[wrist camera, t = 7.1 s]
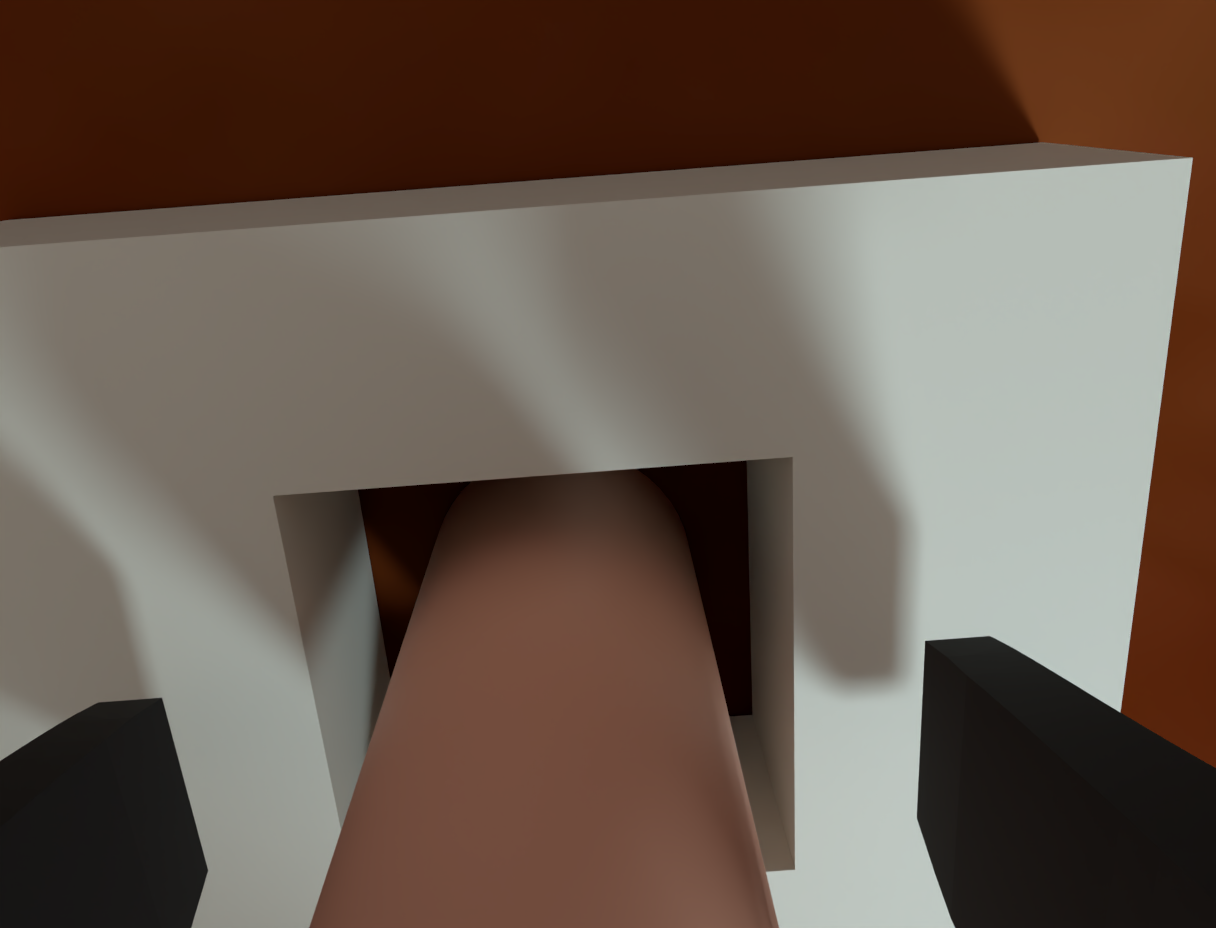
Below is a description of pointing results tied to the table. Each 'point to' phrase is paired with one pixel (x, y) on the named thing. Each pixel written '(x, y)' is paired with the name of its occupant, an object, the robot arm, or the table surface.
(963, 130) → the table surface
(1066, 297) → the socket block
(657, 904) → the dowel
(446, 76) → the table surface
